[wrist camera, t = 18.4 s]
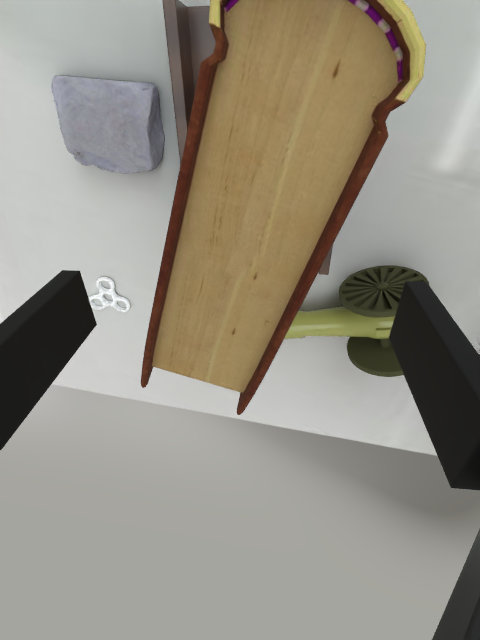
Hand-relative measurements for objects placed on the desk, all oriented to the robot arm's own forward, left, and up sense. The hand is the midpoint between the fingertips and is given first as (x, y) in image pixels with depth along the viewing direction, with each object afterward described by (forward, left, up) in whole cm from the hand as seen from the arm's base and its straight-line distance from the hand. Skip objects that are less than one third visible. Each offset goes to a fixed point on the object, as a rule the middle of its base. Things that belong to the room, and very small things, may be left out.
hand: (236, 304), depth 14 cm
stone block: (+3, +18, -35) cm, 39 cm away
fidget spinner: (-21, +25, -35) cm, 48 cm away
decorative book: (0, 0, -34) cm, 34 cm away
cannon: (-22, -12, -35) cm, 43 cm away
